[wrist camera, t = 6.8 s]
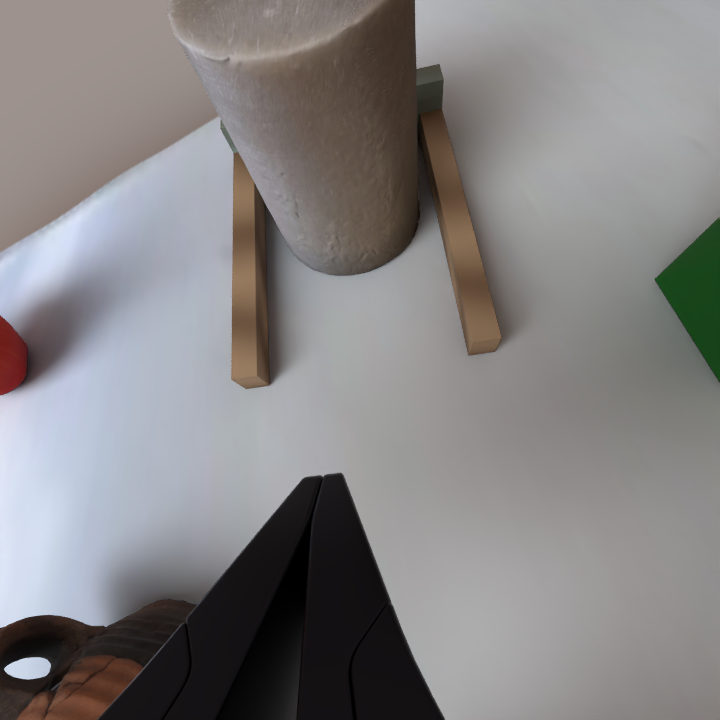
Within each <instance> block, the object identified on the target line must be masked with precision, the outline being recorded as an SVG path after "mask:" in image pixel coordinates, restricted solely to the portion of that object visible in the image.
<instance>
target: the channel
mask: <svg viewBox="0 0 720 720" xmlns="http://www.w3.org/2000/svg"><path fill="white" fill-rule="evenodd" d="M416 70H417V81H416V92H417V139H420V141H421V146H422V150H423V155H424V159H425V164H426V168H427V173H428V177H429V182H430V186H431V190H432V195H433V199H434V204H435V208H436V213H437V217H438V222H439V226H440V231H441V235H442V240H443V244H444V248H445V253H446V257H447V262H448V266H449V271H450V275H451V280H452V284H453V289H454V293H455V297H456V302H457V306H458V311H459V315H460V320H461V324H462V329H463V333H464V338H465V342H466V346H467V351H468V355H475V354H482V353H488V352H495V350H496V348H497V346H498V344H499V342H500V340H501V338H502V337H501V333H500V330H499V326H498V322H497V318H496V314H495V310H494V307H493V303H492V299H491V295H490V291H489V288H488V284H487V280H486V276H485V272H484V268H483V265H482V261H481V257H480V253H479V249H478V246H477V242H476V238H475V234H474V230H473V226H472V223H471V219H470V215H469V211H468V207H467V204H466V200H465V196H464V192H463V188H462V184H461V181H460V177H459V173H458V169H457V165H456V161H455V158H454V154H453V150H452V146H451V142H450V139H449V135H448V131H447V127H446V123H445V119H444V116H443V112H442V96H443V76H442V72H441V69H440V65H439V64H437V65H433V66H429V67H424V68H420V69H416ZM221 130H222V132H223V134H224V136H225V138H226V140H227V142H228V143H229V145H230V147H231V149H232V151H233V153H234V173H233V273H232V372H231V380H233V381H235V382H236V383H238V384H239V385H241V386H242V387H244V388H245V389H249V388H256V387H263V386H269V385H270V380H269V342H268V305H267V268H266V230H265V202H264V200H263V198H262V196H261V194H260V192H259V190H258V188H257V186H256V184H255V183H254V181H253V179H252V177H251V175H250V173H249V171H248V169H247V167H246V165H245V163H244V161H243V159H242V158H241V156H240V154H239V152H238V150H237V148H236V147H235V145H234V143H233V141H232V139H231V137H230V135H229V133H228V131H227V130H226V128H225V126H224V124H223V122H222V120H221Z"/></svg>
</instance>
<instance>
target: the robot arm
mask: <svg viewBox="0 0 720 720" xmlns="http://www.w3.org/2000/svg"><path fill="white" fill-rule="evenodd" d="M97 720H445V718H444V716H443V714H442V712H441V711H440V709H439V707H438V705H437V703H436V701H435V699H434V697H433V696H432V694H431V692H430V690H429V687H428V685H427V683H426V681H425V679H424V677H423V675H422V673H421V671H420V669H419V667H418V665H417V663H416V661H415V659H414V657H413V655H412V652H411V650H410V647H409V645H408V643H407V640H406V638H405V635H404V633H403V631H402V628H401V626H400V623H399V620H398V618H397V615H396V612H395V610H394V607H393V605H392V604H391V600H390V597H389V595H388V592H387V589H386V587H385V584H384V581H383V579H382V576H381V573H380V571H379V568H378V565H377V563H376V560H375V557H374V555H373V552H372V549H371V547H370V544H369V541H368V539H367V536H366V533H365V531H364V528H363V525H362V523H361V520H360V517H359V515H358V512H357V510H356V507H355V504H354V502H353V499H352V496H351V494H350V491H349V488H348V486H347V483H346V480H345V478H344V475H343V474H342V473H334V474H327V475H325V476H324V477H323V476H321V475H318V476H310V477H305V478H303V479H302V480H301V481H300V483H299V484H298V485H297V486H296V487H295V489H294V490H293V491H292V492H291V493H290V495H289V496H288V497H287V498H286V499H285V501H284V502H283V503H282V504H281V505H280V507H279V508H278V509H277V510H276V511H275V513H274V514H273V515H272V516H271V517H270V519H269V520H268V521H267V522H266V523H265V525H264V526H263V527H262V528H261V529H260V531H259V532H258V533H257V534H256V535H255V537H254V538H253V539H252V540H251V541H250V543H249V544H248V545H247V546H246V547H245V549H244V550H243V551H242V552H241V553H240V555H239V556H238V557H237V558H236V559H235V561H234V562H233V563H232V564H231V565H230V567H229V568H228V569H227V570H226V571H225V573H224V574H223V575H222V576H221V577H220V579H219V580H218V581H217V582H216V583H215V585H214V586H213V587H212V588H211V589H210V591H209V592H208V593H207V594H206V595H205V597H204V598H203V599H202V600H201V601H200V603H199V604H198V605H197V606H196V607H195V608H194V610H193V611H192V612H191V613H190V614H189V616H188V617H187V618H186V623H182V624H181V625H180V626H179V627H178V629H177V630H176V631H175V632H174V633H173V635H172V636H171V637H170V638H169V639H168V641H167V642H166V643H165V644H164V645H163V647H162V648H161V649H160V650H159V651H158V652H157V653H156V655H155V656H154V657H153V658H152V659H151V660H150V662H149V663H148V664H147V665H146V666H145V667H144V668H143V670H142V671H141V672H140V673H139V674H138V675H137V677H136V678H135V679H134V680H133V681H132V682H131V683H130V684H129V685H128V686H127V687H126V688H125V690H124V691H123V692H122V693H121V694H120V695H119V696H118V697H117V698H116V699H115V700H114V701H113V703H112V704H111V705H110V706H109V707H108V708H107V709H106V710H105V711H104V712H103V713H102V714H101V716H100V717H99V718H98V719H97Z"/></svg>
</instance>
